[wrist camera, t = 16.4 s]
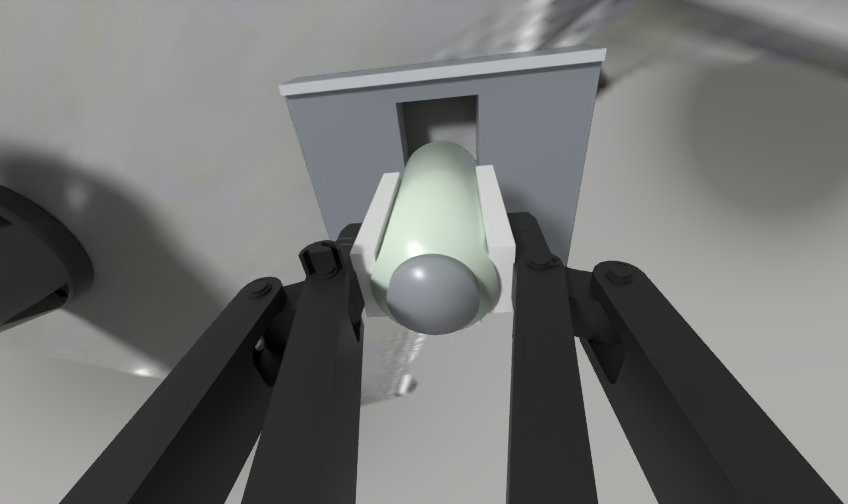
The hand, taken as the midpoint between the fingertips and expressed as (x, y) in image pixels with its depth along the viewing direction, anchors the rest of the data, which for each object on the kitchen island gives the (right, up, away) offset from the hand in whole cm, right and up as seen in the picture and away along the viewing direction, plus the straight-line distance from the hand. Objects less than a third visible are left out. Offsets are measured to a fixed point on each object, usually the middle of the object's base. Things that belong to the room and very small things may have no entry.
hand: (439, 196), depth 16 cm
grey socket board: (+1, +3, +12) cm, 13 cm away
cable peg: (0, +1, +2) cm, 2 cm away
